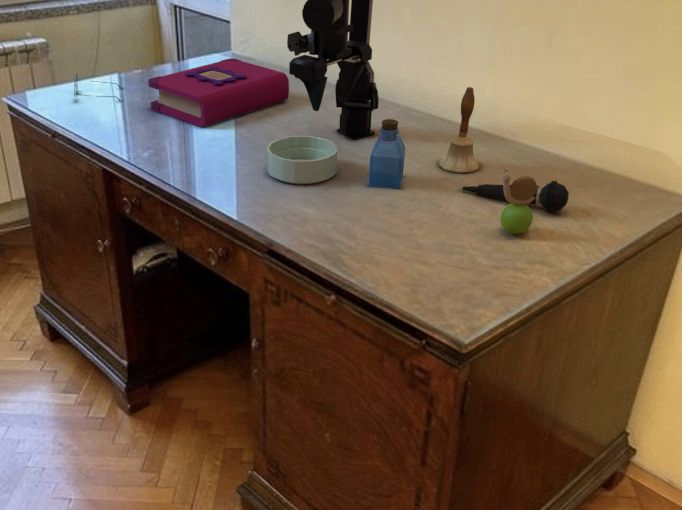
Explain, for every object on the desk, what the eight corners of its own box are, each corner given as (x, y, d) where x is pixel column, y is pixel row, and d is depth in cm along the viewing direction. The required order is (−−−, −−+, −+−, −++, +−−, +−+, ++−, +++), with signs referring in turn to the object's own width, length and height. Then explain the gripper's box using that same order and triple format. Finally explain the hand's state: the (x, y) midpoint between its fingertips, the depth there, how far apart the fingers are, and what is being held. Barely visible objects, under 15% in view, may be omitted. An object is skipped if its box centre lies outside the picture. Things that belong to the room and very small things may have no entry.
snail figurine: (489, 225, 138) (499, 161, 131) (524, 224, 138) (536, 160, 131) (497, 239, 133) (509, 173, 126) (534, 238, 134) (547, 172, 127)
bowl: (312, 154, 166) (312, 131, 163) (350, 176, 156) (351, 152, 153) (254, 167, 159) (253, 143, 156) (290, 191, 150) (290, 166, 147)
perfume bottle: (399, 188, 151) (404, 128, 144) (368, 186, 152) (371, 126, 145) (402, 176, 156) (407, 117, 149) (372, 174, 157) (375, 115, 150)
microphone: (459, 208, 150) (564, 220, 141) (456, 185, 146) (563, 195, 137) (469, 191, 153) (572, 201, 144) (466, 167, 149) (572, 176, 139)
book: (289, 102, 194) (289, 71, 190) (204, 129, 178) (202, 96, 173) (232, 84, 206) (231, 55, 202) (148, 108, 189) (145, 77, 185)
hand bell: (454, 155, 165) (463, 79, 156) (487, 165, 161) (498, 88, 151) (430, 165, 161) (438, 87, 152) (463, 176, 156) (474, 97, 147)
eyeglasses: (121, 87, 203) (119, 68, 201) (120, 102, 193) (118, 82, 190) (77, 89, 202) (74, 70, 199) (74, 104, 192) (71, 84, 189)
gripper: (328, 5, 151) (326, 86, 160) (265, 21, 139) (267, 108, 148) (375, 13, 145) (371, 96, 154) (314, 31, 133) (313, 120, 142)
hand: (330, 104), depth 150 cm, fingers open, 9 cm apart
